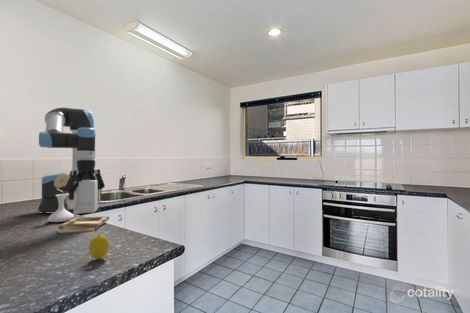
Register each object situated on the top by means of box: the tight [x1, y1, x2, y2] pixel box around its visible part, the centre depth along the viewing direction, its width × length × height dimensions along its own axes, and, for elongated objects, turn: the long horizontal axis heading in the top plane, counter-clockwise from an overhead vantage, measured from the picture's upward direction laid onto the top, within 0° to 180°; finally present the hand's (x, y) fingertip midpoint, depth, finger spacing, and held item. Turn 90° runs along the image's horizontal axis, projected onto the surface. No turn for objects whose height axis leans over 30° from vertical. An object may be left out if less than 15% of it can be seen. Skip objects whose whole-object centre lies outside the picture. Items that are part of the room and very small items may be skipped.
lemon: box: [88, 233, 110, 260], centre depth 76 cm, size 6×6×8 cm
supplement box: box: [72, 179, 99, 215], centre depth 115 cm, size 9×9×15 cm
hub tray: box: [57, 215, 110, 234], centre depth 115 cm, size 20×16×2 cm
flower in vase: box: [47, 172, 75, 223], centre depth 124 cm, size 13×11×25 cm
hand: (86, 204), depth 115 cm, fingers closed on supplement box, 12 cm apart
